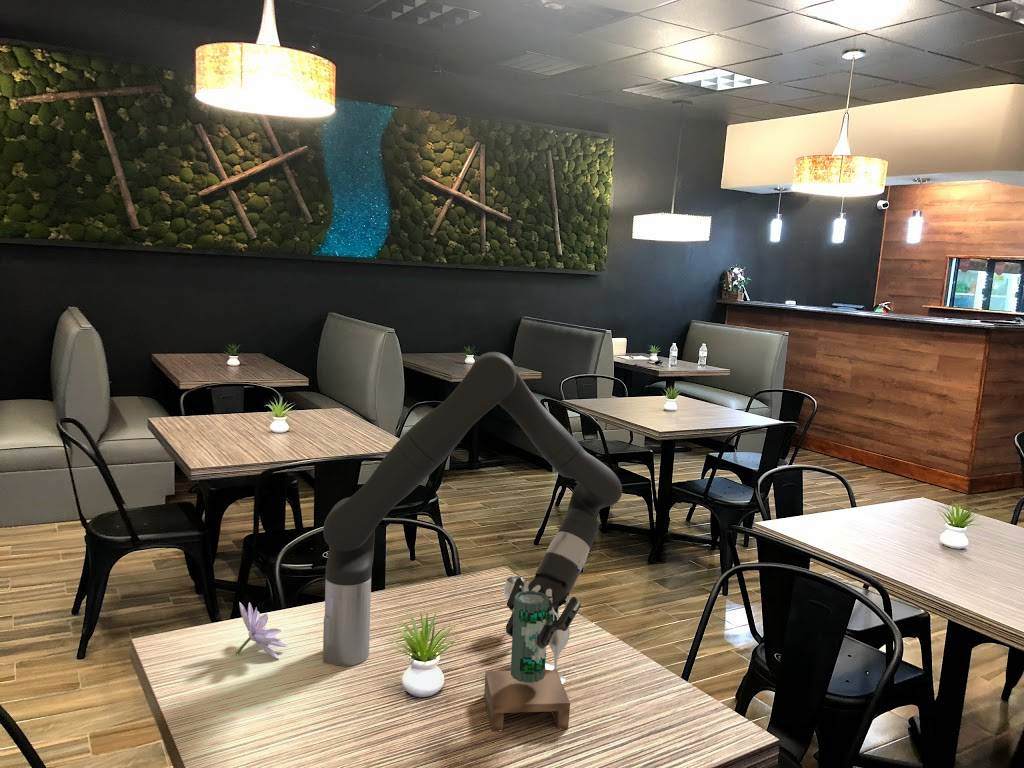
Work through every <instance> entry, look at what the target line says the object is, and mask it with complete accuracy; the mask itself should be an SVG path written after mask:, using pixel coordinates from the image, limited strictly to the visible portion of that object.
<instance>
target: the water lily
mask: <svg viewBox="0 0 1024 768" xmlns="http://www.w3.org/2000/svg"><path fill="white" fill-rule="evenodd" d="M238 605H239V611H240V615H241V618H242V622H243V624H244V625H245V628H246V629H247V631H248V638H247V639H246V640H245V641H244V642H243V643H242V644H241V646H240V647H239V648H238V649H237V651H236V652H235V654H236V655H237V654H239V655H240V653H241V652H242V650H243V649H244V648H245V647H246V646H247V644H249V642H250V641H253V642H255V643H256V644H257V646H258V647H259V648H260V649H261V650H263V652H265V653H266V654H267V655H269V656H270V657H272V658H274V659H276V660H278V661H280V658H279V659H277V658H276V657H279V656H278V654H277V653H276V652H275V651H274V650H273V649H272V648H270V647H269V646H268V645H270V646H271V645H272V646H276V647H280V648H281V647H282V648H288V647H289V646H288V644H285V643H283V642H281V641H282V639H280V638H276V637H277V636H276V635H277V634H280V633H282V629H280V628H268V629H267V628H266V626H267V623H268V621H269V615H268V613H264V614H263V615H261V613H260V612H259V611H258V608H257V606H256V607H255V609H254V608H253V606H252V604H251V602H248V607H247V609H246V608H245V606H244V605H243V604H242V603H241V602H240V601H239V604H238ZM266 644H267V645H266Z"/></svg>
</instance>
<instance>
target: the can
mask: <svg viewBox="0 0 1024 768" xmlns="http://www.w3.org/2000/svg"><path fill="white" fill-rule="evenodd" d="M548 610H549V597H548V596H547V595H546V594H543V593H541V592H539V591H538V592H536V591H525V592H524V591H522V592H519V593H517V594H516V595H515V596H514V614H513V634H512V636H511V637H512V639H511V658H510V671H511V676H513V678H514V679H516V680H518V681H520V682H522V681H523V682H525V683H526V682H528V683H530V682H531V683H533V682H538V681H540V680H542V679H544V676H545V664H546V661H547V646H548V645H547V646H545V647H544V649H542V648H540V647H539V646H538V645H537V640H538V638H539V636H540V634H541V632H542V630H543V628H544V626H545V625H547V615H548Z"/></svg>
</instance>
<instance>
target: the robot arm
mask: <svg viewBox="0 0 1024 768" xmlns="http://www.w3.org/2000/svg"><path fill="white" fill-rule="evenodd" d="M497 405H499V406H500V407H501V408H502V409H504V410H505V411H506V412H507V413H508V414H509V415H510V417H512V419H513V420H514V421H515V422H516V423H517V424H518V426H519V427H520V429H521V430H523V433H525V435H526V436H527V438H528V439H529V440H530V442H531V443H532V444H533V446H534V447H535V448H536V449H537V451H538V452H539V454H541V455H542V457H543V458H544V459H545V460H546V461H547V462H548V464H549V465H551V466H552V468H553V469H554V470H555V471H556V472H557V473H558V474H559V475H560V476H561V477H563V478H566V479H567V478H568V479H573V480H575V481H576V482H577V484H576V486H574V489H573V491H572V494H571V497H570V500H569V505H568V507H567V513H566V516H565V517H564V518H563V521H562V523H561V525H560V526H559V528H558V531H557V532H556V535H555V536H554V538H552V540H551V542H550V544H549V546H548V547H547V549H546V551H545V553H544V556H543V557H542V559H541V562H540V564H539V565H538V567H537V569H536V572H535V575H534V578H533V579H532V580H531V581H527V582H524V581H522V580H521V579H520V578H518V579H517V580H516V582H515V584H514V587H513V589H512V592H511V594H510V597H509V599H508V600H507V602H506V606H507V608H508V609H509V610H510V611H511V615H510V617H509V619H508V621H507V623H506V625H505V627H506V632H505V633H506V634H507V635H508V636H509V637H512V634H513V614H514V596H515V595H516V594H517V593H519V592H522V591H524V592H525V591H527V590H528V589H529V591H536V592H538V591H539V592H541V593H543V594H546V595H547V596H548V597H549V610H548V615H547V625H545V626H544V628H543V630H542V632H541V634H540V636H539V638H538V640H537V645H538V646H539V647H540V648H542V649H544V647H545V646H549V645H548V644H549V642H550V640H551V638H552V636H553V634H554V632H555V631H556V630H562V631H566V630H567V629H568V627H569V628H570V626H571V624H572V622H573V620H574V618H575V616H576V615H577V613H578V612H579V610H580V608H581V607H582V604H581V602H580V601H579V600H578V599H577V597H576V596H570V592H571V591H572V590H573V588H574V586H575V584H576V581H577V580H578V578H579V576H580V574H581V572H582V570H583V568H584V567H585V566H584V565H585V563H586V562H587V558H588V555H589V551H590V549H591V547H592V546H593V543H594V540H596V537H597V536H598V532H599V529H600V523H599V521H598V519H597V518H598V514H599V513H600V511H601V509H604V508H608V507H611V506H614V505H615V504H617V503H618V502H619V501H620V499H621V498H622V496H623V486H622V482H621V480H620V479H619V478H618V475H617V474H616V473H615V472H614V471H613V470H612V469H611V468H610V467H608V466H607V465H606V464H604V463H603V462H602V461H601V460H599V459H598V458H596V457H595V456H594V455H591V454H590V453H588V452H587V451H586V450H585V449H584V448H583V446H582V445H581V444H580V443H579V442H578V441H577V440H576V438H574V436H573V435H572V434H571V433H570V432H569V431H568V430H567V429H566V428H565V427H564V426H563V425H562V424H561V423H560V422H559V420H557V418H555V417H554V416H553V415H552V414H551V413H550V412H549V410H547V408H546V407H544V405H543V404H542V403H541V402H540V401H539V400H538V398H537V397H536V395H535V394H533V392H532V391H531V390H530V389H529V387H528V385H527V384H526V382H525V381H524V380H523V377H522V376H521V375H520V373H519V372H518V370H517V369H516V366H515V363H514V362H513V361H512V359H510V358H509V356H507V355H505V354H504V353H501V352H497V351H490V352H489V351H488V352H485V353H483V354H481V355H479V357H477V358H476V359H475V360H474V362H473V364H472V365H471V367H470V369H469V371H468V372H467V374H466V375H465V376H464V377H463V379H462V380H461V381H460V383H459V384H458V385H457V386H456V387H455V389H454V390H453V391H452V392H451V393H450V394H449V396H448V397H447V398H445V400H444V401H442V402H441V403H440V404H439V405H437V406H436V407H435V408H434V409H432V410H430V411H429V412H428V413H427V414H425V415H424V416H423V417H422V418H421V419H419V420H418V421H417V422H416V423H415V424H414V425H412V427H410V428H409V429H408V430H407V432H405V434H403V436H401V438H399V439H398V441H396V443H395V444H394V445H393V446H392V447H391V448H390V450H389V451H388V452H387V454H386V455H385V456H384V457H383V459H382V460H381V461H380V463H379V464H378V465H377V467H376V469H375V470H374V471H373V473H372V474H371V475H370V477H369V478H368V480H367V481H365V483H364V484H363V485H362V486H361V487H360V488H359V489H358V490H357V491H356V492H355V493H354V494H353V495H352V496H350V497H345V498H343V499H341V500H339V501H338V502H337V503H336V504H334V506H333V507H332V508H331V510H330V512H328V514H327V516H326V517H325V521H324V524H323V530H322V531H323V532H322V533H323V538H324V541H325V543H326V544H327V545H328V546H329V548H328V555H327V559H326V560H327V561H326V563H325V585H324V586H325V589H324V590H325V591H324V597H325V598H324V616H323V630H322V631H323V637H322V640H323V641H322V643H323V644H322V663H328V664H332V665H335V666H342V667H346V666H355V665H359V664H361V663H363V662H365V661H366V660H367V659H368V658H369V656H370V634H371V633H370V632H371V631H370V630H371V628H370V627H371V597H372V596H371V595H372V593H371V592H372V570H373V569H372V568H373V562H374V553H375V537H376V536H375V534H376V533H375V532H376V530H375V529H376V528H377V527H378V526H379V524H380V523H381V522H382V521H383V520H384V518H385V517H386V516H387V515H388V514H389V512H390V511H391V510H392V509H394V508H395V506H397V505H398V504H399V503H400V502H401V501H402V500H404V499H406V497H407V496H408V495H409V494H411V493H412V492H413V491H414V490H415V489H416V488H418V487H419V486H420V485H421V484H422V483H423V482H424V481H425V480H426V479H427V478H428V477H429V476H430V475H431V474H432V473H433V472H434V471H435V470H436V469H437V468H439V466H440V465H441V464H442V463H444V461H445V460H446V459H447V458H448V456H449V455H450V454H451V453H452V452H453V451H454V449H455V448H456V447H457V446H458V444H459V443H460V442H461V441H462V439H463V438H464V437H465V435H466V434H467V433H468V431H470V429H471V428H472V427H473V425H475V424H476V423H477V422H478V421H479V420H481V418H483V416H485V415H486V414H488V412H489V411H490V410H492V409H493V408H494V407H495V406H497ZM564 605H565V607H564V609H563V610H562V613H561V614H560V608H561V607H562V606H564Z"/></svg>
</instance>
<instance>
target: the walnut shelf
mask: <svg viewBox="0 0 1024 768" xmlns="http://www.w3.org/2000/svg"><path fill="white" fill-rule="evenodd" d="M559 675H560V674H559V672H558V669H556V670H554V669H553V670H545V676H544V679H542V680H540V681H538V682H533V683H531V682H530V683H528V682H526V683H525V682H523V681H522V682H520V681H518V680H516V679H514V678H513V676H511V670H487V671H485V674H484V692H483V693H484V694H483V697H484V701H485V705H486V710H487V716H488V721H489V725H491V726H490V730H491V732H500V731H499V730H503V731H504V715H505V714H511V713H535V712H536V713H539V712H541V713H542V712H551V711H552V712H551V714H552V716H553V721H554V723H555V725H557V726H556V729H557V728H558V729H557V730H566V729H565V728H568V729H569V726H570V724H569V723H570V710H571V702H570V699H569V696H568V694H567V692H566V689H565V686H564V683H563V684H562V681H561V679H560V676H559ZM560 728H562V729H560Z"/></svg>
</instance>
